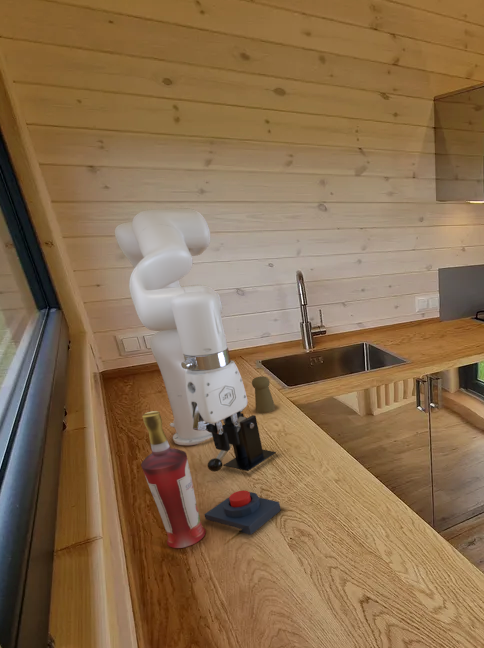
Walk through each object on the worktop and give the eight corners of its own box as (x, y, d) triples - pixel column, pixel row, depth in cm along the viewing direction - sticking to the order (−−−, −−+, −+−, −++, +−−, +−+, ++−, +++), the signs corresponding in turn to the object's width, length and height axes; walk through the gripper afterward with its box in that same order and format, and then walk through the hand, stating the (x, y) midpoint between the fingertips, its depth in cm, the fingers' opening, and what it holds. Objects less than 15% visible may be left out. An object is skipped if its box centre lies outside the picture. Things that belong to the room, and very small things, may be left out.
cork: (269, 413, 155) (262, 381, 151) (252, 412, 156) (245, 380, 152) (279, 406, 161) (273, 374, 156) (262, 405, 162) (256, 373, 158)
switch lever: (220, 475, 116) (212, 468, 113) (210, 472, 117) (201, 466, 114) (254, 424, 124) (247, 416, 121) (244, 422, 125) (237, 415, 122)
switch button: (226, 505, 102) (224, 498, 102) (240, 495, 106) (239, 488, 105) (241, 509, 101) (239, 502, 100) (255, 499, 105) (253, 492, 104)
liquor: (169, 535, 99) (130, 410, 88) (209, 526, 102) (176, 403, 91) (165, 558, 93) (122, 426, 82) (207, 547, 96) (171, 418, 85)
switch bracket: (248, 474, 121) (238, 428, 116) (224, 469, 124) (213, 423, 119) (276, 455, 130) (268, 412, 125) (252, 451, 132) (243, 408, 127)
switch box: (206, 522, 103) (202, 507, 102) (238, 499, 111) (235, 484, 109) (250, 535, 99) (247, 518, 97) (281, 510, 107) (278, 495, 105)
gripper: (187, 375, 83) (210, 469, 90) (254, 349, 97) (270, 432, 104) (155, 370, 86) (180, 462, 93) (225, 346, 99) (243, 427, 106)
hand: (228, 446), depth 98 cm, fingers closed
